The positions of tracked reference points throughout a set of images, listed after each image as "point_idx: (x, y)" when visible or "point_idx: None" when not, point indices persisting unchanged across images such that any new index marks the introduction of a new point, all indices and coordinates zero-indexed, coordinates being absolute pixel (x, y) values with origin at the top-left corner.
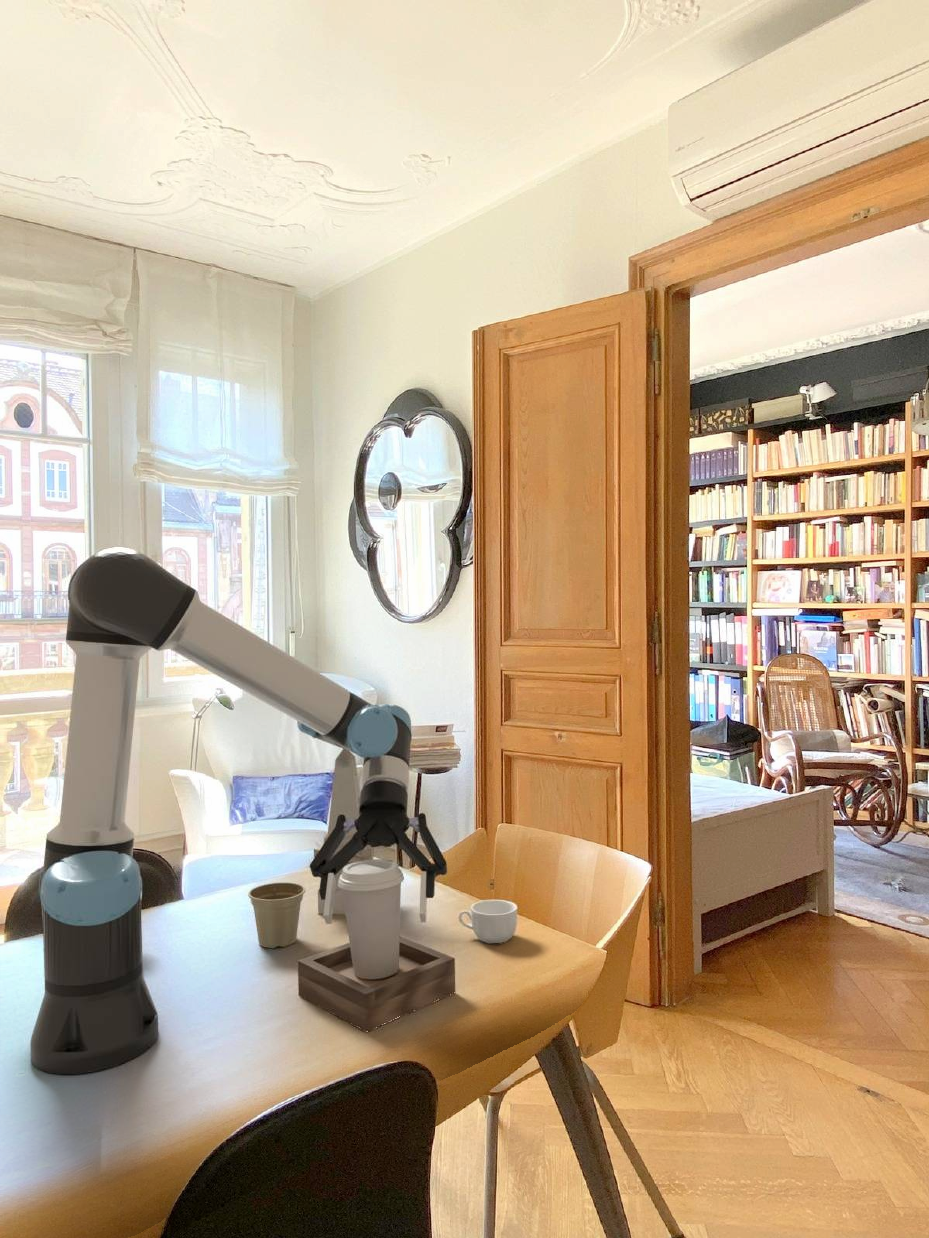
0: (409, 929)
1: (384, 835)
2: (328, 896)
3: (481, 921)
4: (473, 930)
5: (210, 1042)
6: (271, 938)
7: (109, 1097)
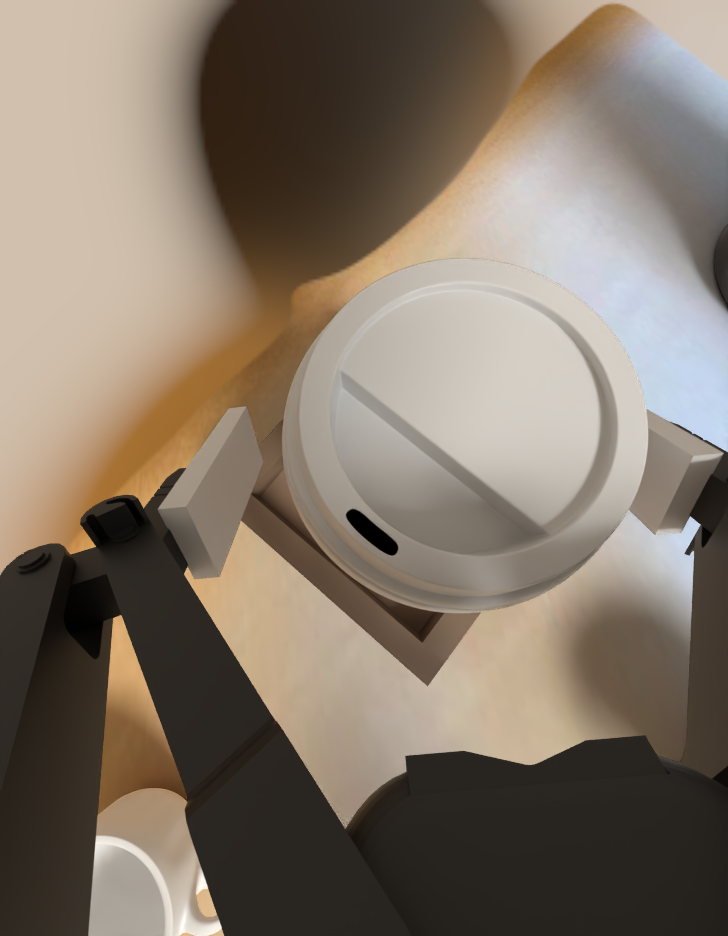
0: None
1: (493, 822)
2: None
3: (153, 824)
4: None
5: (624, 299)
6: None
7: (678, 164)
